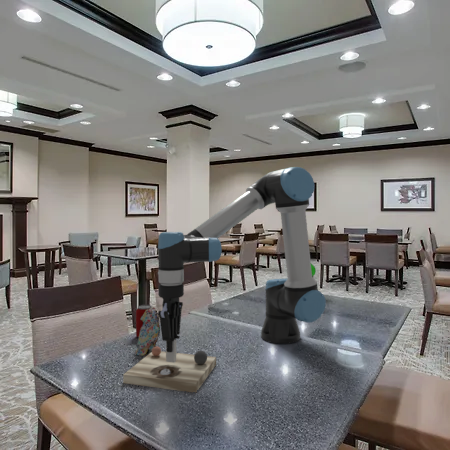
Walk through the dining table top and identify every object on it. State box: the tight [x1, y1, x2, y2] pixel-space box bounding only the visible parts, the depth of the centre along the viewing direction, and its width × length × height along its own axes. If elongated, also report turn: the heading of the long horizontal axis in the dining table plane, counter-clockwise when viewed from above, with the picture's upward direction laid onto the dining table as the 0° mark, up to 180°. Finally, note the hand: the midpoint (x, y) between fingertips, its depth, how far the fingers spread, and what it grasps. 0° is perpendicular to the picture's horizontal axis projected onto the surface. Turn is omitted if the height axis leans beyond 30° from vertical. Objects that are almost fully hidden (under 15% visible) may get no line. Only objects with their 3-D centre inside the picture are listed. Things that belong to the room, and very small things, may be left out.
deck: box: [122, 350, 217, 394], centre depth 108 cm, size 19×22×2 cm
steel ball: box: [160, 369, 171, 375], centre depth 104 cm, size 3×3×3 cm
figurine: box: [135, 306, 161, 357], centre depth 127 cm, size 9×9×15 cm
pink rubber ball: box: [152, 345, 162, 356], centre depth 116 cm, size 3×3×3 cm
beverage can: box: [135, 304, 153, 338], centre depth 142 cm, size 7×7×12 cm
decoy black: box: [193, 350, 208, 365], centre depth 109 cm, size 4×4×4 cm
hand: (171, 361), depth 108 cm, fingers closed
